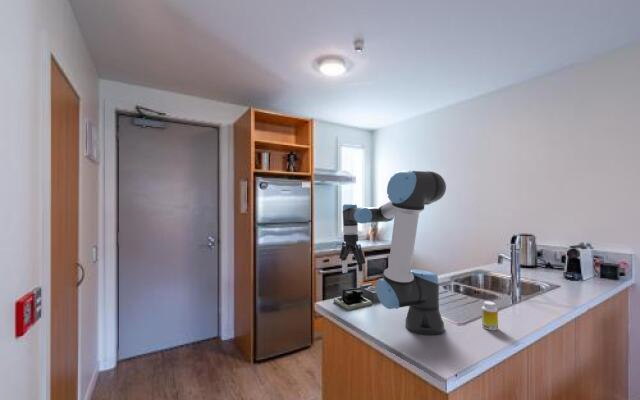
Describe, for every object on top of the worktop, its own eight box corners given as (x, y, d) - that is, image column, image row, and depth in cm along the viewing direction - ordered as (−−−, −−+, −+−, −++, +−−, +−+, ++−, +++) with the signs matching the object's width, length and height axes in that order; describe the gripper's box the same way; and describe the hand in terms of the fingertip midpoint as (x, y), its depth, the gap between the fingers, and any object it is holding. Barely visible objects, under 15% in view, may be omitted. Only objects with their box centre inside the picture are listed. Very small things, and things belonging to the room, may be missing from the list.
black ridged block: (358, 298, 153) (358, 286, 153) (364, 303, 146) (364, 290, 147) (341, 301, 150) (340, 288, 150) (346, 305, 143) (346, 292, 143)
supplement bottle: (500, 331, 114) (500, 305, 114) (486, 330, 115) (485, 305, 115) (493, 325, 120) (493, 300, 120) (479, 324, 120) (479, 300, 120)
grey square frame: (371, 305, 146) (371, 301, 146) (348, 310, 139) (347, 306, 139) (356, 297, 158) (356, 293, 158) (333, 302, 151) (333, 298, 151)
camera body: (384, 300, 153) (384, 288, 153) (373, 302, 150) (373, 290, 150) (370, 294, 163) (370, 283, 163) (360, 296, 160) (360, 284, 160)
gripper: (371, 234, 140) (373, 278, 139) (343, 231, 162) (345, 269, 161) (358, 236, 136) (360, 281, 135) (332, 232, 158) (333, 271, 157)
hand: (352, 275), depth 148 cm, fingers open, 13 cm apart
